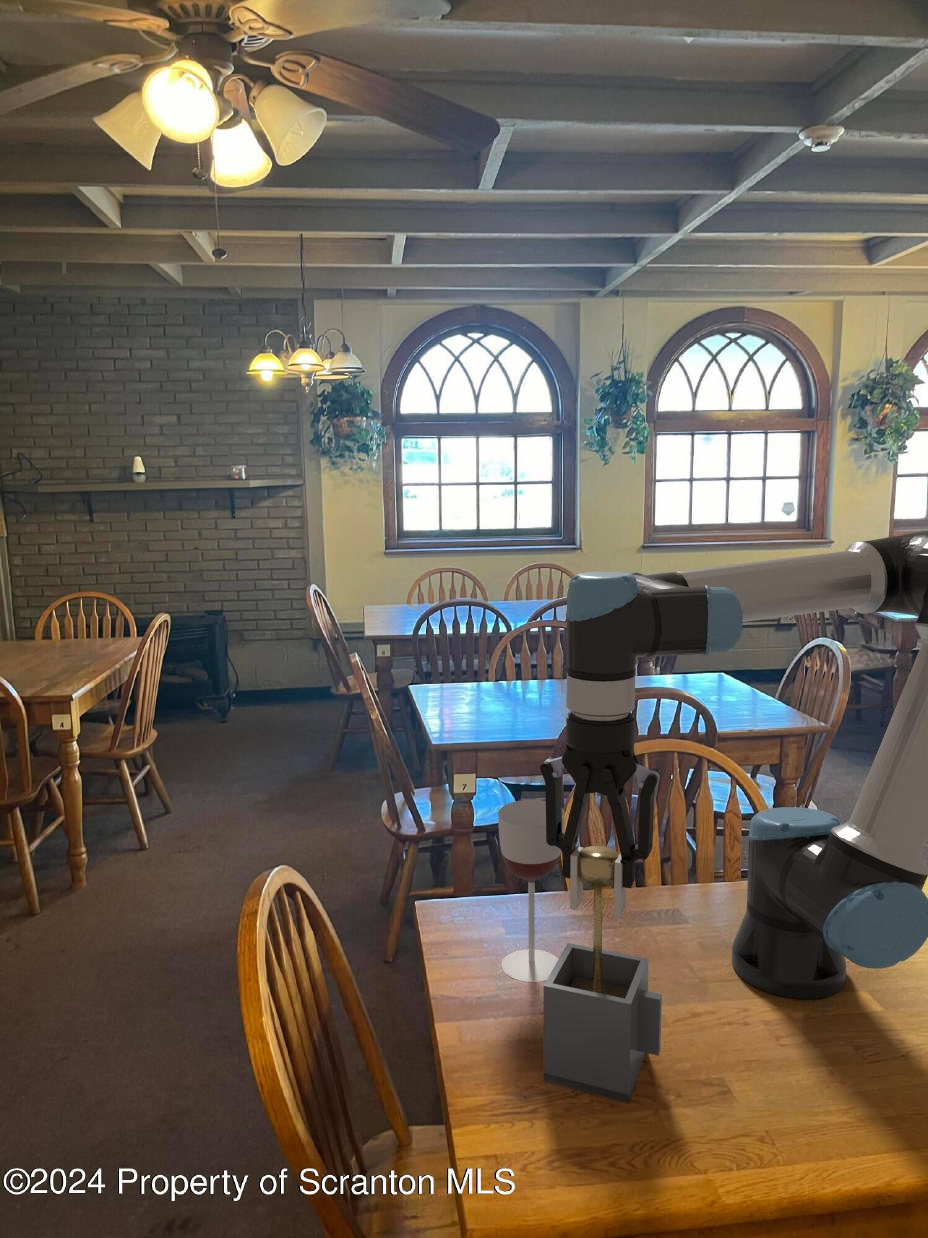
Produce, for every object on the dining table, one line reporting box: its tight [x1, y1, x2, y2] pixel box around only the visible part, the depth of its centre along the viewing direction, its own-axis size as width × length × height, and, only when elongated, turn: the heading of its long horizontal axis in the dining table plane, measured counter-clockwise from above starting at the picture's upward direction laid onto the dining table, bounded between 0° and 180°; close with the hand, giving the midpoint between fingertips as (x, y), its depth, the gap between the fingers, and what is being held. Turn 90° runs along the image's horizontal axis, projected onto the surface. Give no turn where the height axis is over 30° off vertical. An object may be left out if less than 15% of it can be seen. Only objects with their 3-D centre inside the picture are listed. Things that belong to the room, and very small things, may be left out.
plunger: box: [570, 845, 629, 999], centre depth 103 cm, size 7×7×19 cm
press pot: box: [542, 942, 663, 1104], centre depth 104 cm, size 12×10×12 cm
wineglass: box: [497, 799, 566, 983], centre depth 125 cm, size 9×10×23 cm
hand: (598, 907), depth 102 cm, fingers closed on plunger, 4 cm apart
